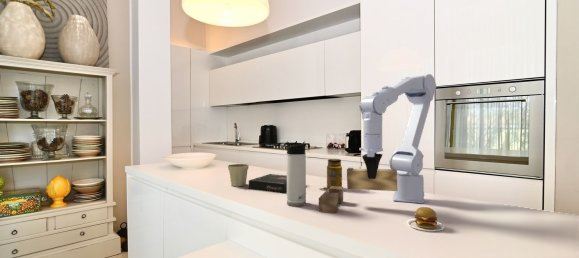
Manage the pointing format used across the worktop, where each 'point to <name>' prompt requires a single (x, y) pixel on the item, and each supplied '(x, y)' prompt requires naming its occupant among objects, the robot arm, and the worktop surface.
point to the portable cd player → (269, 183)
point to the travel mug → (296, 175)
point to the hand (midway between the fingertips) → (372, 177)
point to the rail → (372, 180)
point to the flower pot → (238, 174)
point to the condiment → (334, 174)
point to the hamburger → (426, 219)
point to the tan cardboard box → (331, 199)
